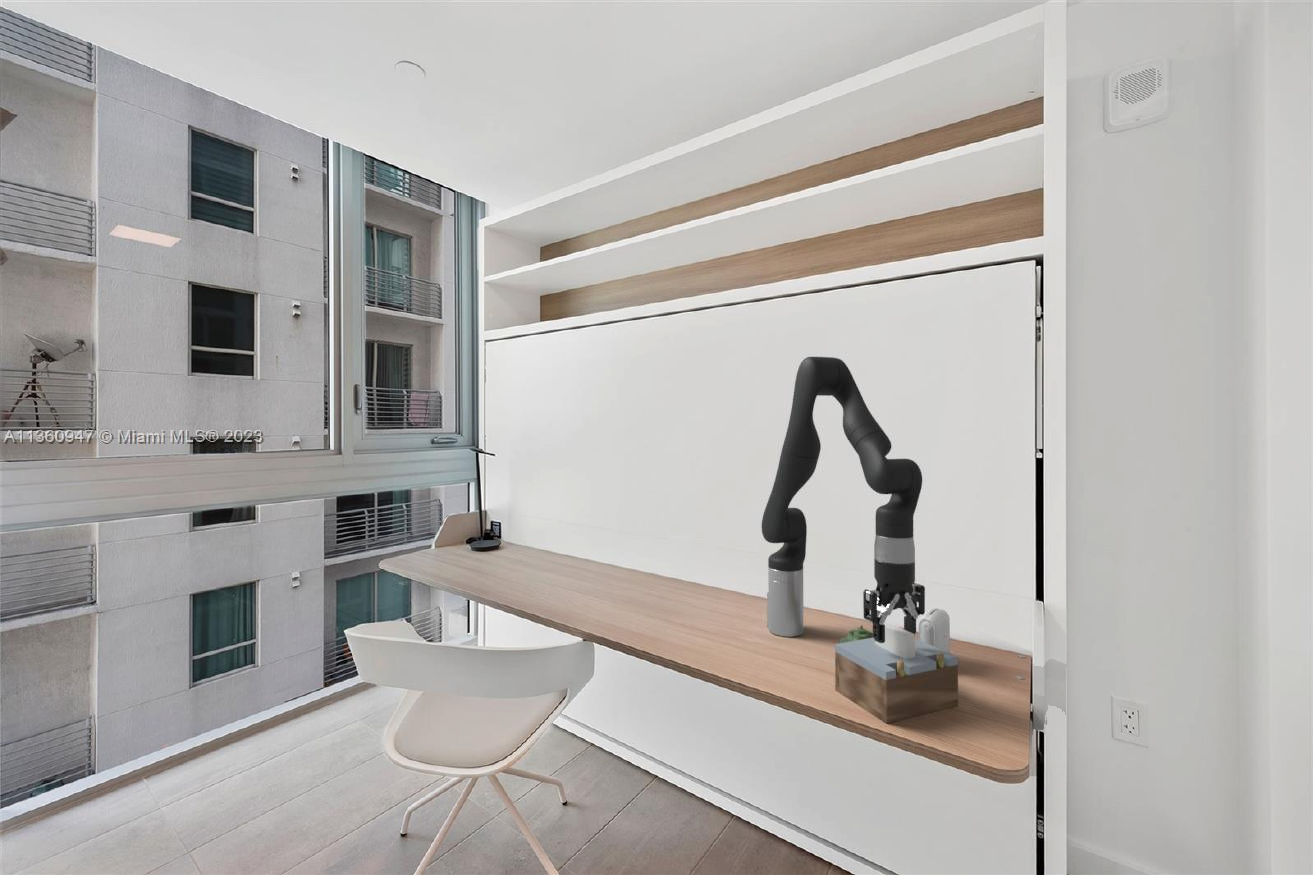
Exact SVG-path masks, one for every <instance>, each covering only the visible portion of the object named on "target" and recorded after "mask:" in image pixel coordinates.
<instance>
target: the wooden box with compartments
mask: <svg viewBox="0 0 1313 875" xmlns="http://www.w3.org/2000/svg"><path fill="white" fill-rule="evenodd" d="M834 652H835V651H834ZM834 658H835V659H834V660H835V661H834V662H835V663H834V665H835V667H834V668H835V669H834V670H835V674H834V678H835V680H834V682H835V683H834V684H835V688H834V689H835V691H836V692H838V693H839V694H841V695H842V696H844V697H845V698H846V699H848V700H850V701H851V702H853V703H855V704H856V705H857V706H859V707H861V708H862V709H863V710H865V712H866V711H867V712H868V713H870V714H871V715H872V716H874V717H875V718H877V719H879V720H880V721H882V722H883V723H885V724H886V725H887V724H891V723H895V722H899V721H903V720H907V719H911V718H915V717H919V716H923V715H926V714H930V713H933V712H934V713H935V712H938V711H941V710H947V709H950V708H953V707H956V706H959V664H958V665H954V666H949V667H948V666H946V665H944V654H942V653H937V662H936V669H935V670H931V671H926V672H922V673H917V674H913V675H908V674H906V673H904V662H903V661H897V670H896V678H894V679H890V680H885V679H883V678H881V677H879V676H878V675H876V674H874V673H872V672H871V671H869V670H867V669H865V668H863V667H862V666H860V665H858V664H856V663H855V662H853V661H851V660H849V659H848V658H846V657H844V656H842V655H840V654H839V653H837V652H835V657H834Z"/></svg>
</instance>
